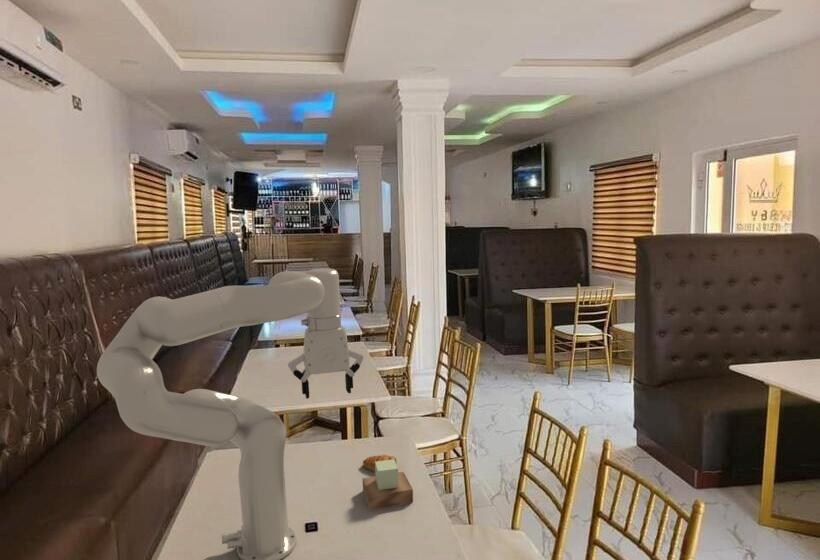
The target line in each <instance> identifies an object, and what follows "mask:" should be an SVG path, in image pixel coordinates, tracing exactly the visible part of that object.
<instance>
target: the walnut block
mask: <svg viewBox="0 0 820 560" xmlns="http://www.w3.org/2000/svg"><path fill="white" fill-rule="evenodd" d="M362 492H363V495H364V498H365V501H366V504H367V506H368V509H369V511H373V510H379V509H383V508H389V507H395V506H400V505H407V504H412V502H413V503H414V490H413V487H412V485H411V483H410V481H409V480H408V477H407V476H406V473H405V472H404V471H398V488H390V489H383V490H379V489H378V486H377V482H376V475H375V476H369V477H363V478H362Z"/></svg>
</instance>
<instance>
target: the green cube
mask: <svg viewBox="0 0 820 560" xmlns="http://www.w3.org/2000/svg"><path fill="white" fill-rule="evenodd" d="M374 473H375V476H376V482H377V486H378V489H379V490H383V489H390V488H398V473H399V468H398V464H397V465H396V462H395V460H394V459H393V460H385V461H377V462H375V472H374Z"/></svg>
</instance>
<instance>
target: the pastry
mask: <svg viewBox="0 0 820 560" xmlns="http://www.w3.org/2000/svg"><path fill="white" fill-rule="evenodd" d="M393 459H394V460H395V462H396V465H397V466H398V460H397V458H396V456H395V455H392V456H391V455H388V454H382V455H373V456H369V457H368V456H367V458H366V459H364V460H363V461H362V464H363V467H364V468H365V469H366V470H369V471H371V472H373V473H375V462H377V461H385V460H393Z"/></svg>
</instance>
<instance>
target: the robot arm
mask: <svg viewBox="0 0 820 560" xmlns="http://www.w3.org/2000/svg"><path fill="white" fill-rule="evenodd" d="M340 299H341V296H340V275H339V273H338V271H337V269H333V268H330V267H328V268H327V267H326V268H322V267H321V268H313V269H310V270H305V271H304V270H303V271H302V270H301V271H299V270H298V271H295V270H292V271H290V270H287V271H286V270H284V271H280V272H278V273H276V274H275V275H273V276H272V277H271V278H270V280H269V282H268V284H267V285H225V286H221V287H218V288H214V289H210V290H207V291H206V290H205V291H202V292H198V293H194V294H192V295H187V296H183V297H178V298H174V299H171V298H169V297H165V296H159V295H158V296H153V297H150V298H148V299H146V300H144V301H143V302H142V303H141V304H140V305H139V306H138V307H136V309H135V310H134V312H133V313H132V314H131V315H130V317H129V318H128V319H127V320H126V321H125V323H124V324H123V326H122V327H121V328H120V330H119V331H118V332H117V334H116V335H115V336H114V338H113V339H112V341H111V342H110V343H109V344H108V346H107V347H106V348H105V349H104V351H103V352H102V354H101V356H100V357H99V359H98V361H97V364H96V365H97V367H96V376H97V379H98V381H99V382H100V384H101V385H102V386H103V387H104V388H105V389H106V390H107V391H108V392H109V393H110V394H111V395H112V396H113V397H114V400H115V403H116V407H117V410H118V411H117V412H118V413H119V417H120V418H121V420H122V422H123V423H124V424H125V426H126V427H128V428H129V429H130V430H131V431H133V432H135V433H137V434H140V435H144V436H149V437H154V438H161V439H166V440H170V441H171V440H172V441H177V442H181V443H182V442H184V443H190V444H193V445H195V444H196V445H200V446H206V447H216V446H217V447H218V446H221V445H224V444H226V443H228V442H231V443H233V444H234V445H235V446H236V447H237V448H238V449H239V450H240V461H239V465H238V485H239V486H238V487H239V497H240V499H239V500H240V510H241V522H242V524H241V529H238V530H237V531H236V532H232V533H224V534H222V535H221V545H225V544H226V545H227V547H226V549H227V550H228V549H229V550H230V549H233V548H236V552H237V553H236V554H237V556H238V558H239V559H240V560H282V559H284V558H285V557H287V556H288V555H289V554H291V552H292V551H293V550H294V549H295V547H296V544H297V536H296V533H295V531H294V530H293V529H292V528H290V527H289V520H288V506H287V493H286V492H287V489H286V488H287V487H286V477H285V447H286V441H287V440H286V439H287V432H286V426H285V424H284V422H283V421H282V419H281V418H280V417H279V416H278V415H277V414H276V413H275V412H273V411H271V410H270V409H268V408H267V407H265V406H263V405H260V404H259V403H257V402H255V401H253V400H251V399H249V398H245V397H242V396H237V395H232V394H230V393H229V394H228V393H224V392H219V391H216V390H210V389H205V388H196V389H195V388H194V389H191V390H188V391H185V392H184V393H180V392H174V391H173V392H172V391H168V390H167V388H166V387H165V383H164V377H163V374H162V371H161V369H160V367H159V366H158V364H157V363H156V362H155V361H154V360H153V359H154V358H155V356H156V355H157V353H158V352H159V350H160V348H161V347H162V346H165V347H166V346H167V347H175V346H180V345H183V344H188V343H190V342H194V341H197V340H200V339H203V338H207V337H209V336H212V335H216V334H219V333H222V332H226V331H229V330H232V329H236V328H240V327H241V328H242V327H250V326H256V325H261V324H268V323H272V322H273V323H274V322H280V321H283V320H286V319H287V320H288V319H290V318H291V319H292V318H294V317H297V316H301V315H303V314H306V317H305V318H304V319H301V320H300V324H301V326H306V327H307V328H306V329H305V330H304V337H303V339H304V340H303V353H302V354H300V355H299V356H297V357H296V358H294V359H292V360H290V361H289V362H288V364H287V365H288V368H289V370H290V371H291V373H292V374H293V375H294V377H296V378H297V379H298V380H300V382H301V393H302V395H305V398H306V399H309V398H310V386H309V385H310V383H309V380H308V379H309V377H310V376H311V375H323V374H331V373H338V372H339V373H340V372H345V375H344V377H345V379H344V380H345V391H346V392H347V393H348V394H351V393H352V389H354V378H353V377H354V375H355V373H357V371H358V370H359V369H360V368H361V365H362V363H363V361H364V355H362V354H361V353H358V352H356V351H353V350H351V349H349V343H348V336H347V331H346V328H345V327H344V326H343V325H342V321H341V320H342V318H341V315H342V314H341V300H340ZM350 358H352V359H355V361H354V363H353V364H352V365H351V366H350ZM302 363H303V365H304V369H303V370H302V371H300V370H299V369H298V368H297V366H298V365H300V364H302Z"/></svg>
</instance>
